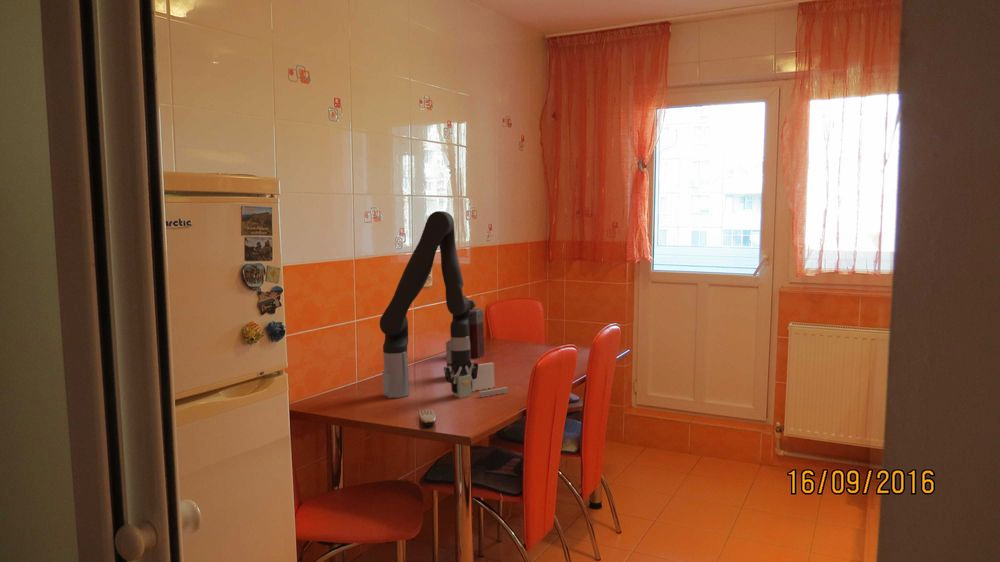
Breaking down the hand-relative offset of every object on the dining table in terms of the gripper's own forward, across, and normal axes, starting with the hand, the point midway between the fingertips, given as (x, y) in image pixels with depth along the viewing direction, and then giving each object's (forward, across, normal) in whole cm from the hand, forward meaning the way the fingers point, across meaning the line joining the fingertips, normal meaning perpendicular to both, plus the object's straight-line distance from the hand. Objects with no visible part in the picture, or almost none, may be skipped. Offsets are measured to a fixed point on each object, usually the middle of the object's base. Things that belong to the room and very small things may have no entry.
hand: (462, 391), depth 267 cm
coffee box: (+2, +12, +28) cm, 31 cm away
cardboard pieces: (+1, +10, -2) cm, 10 cm away
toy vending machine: (+2, +38, +63) cm, 74 cm away
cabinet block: (+2, 0, 0) cm, 2 cm away
